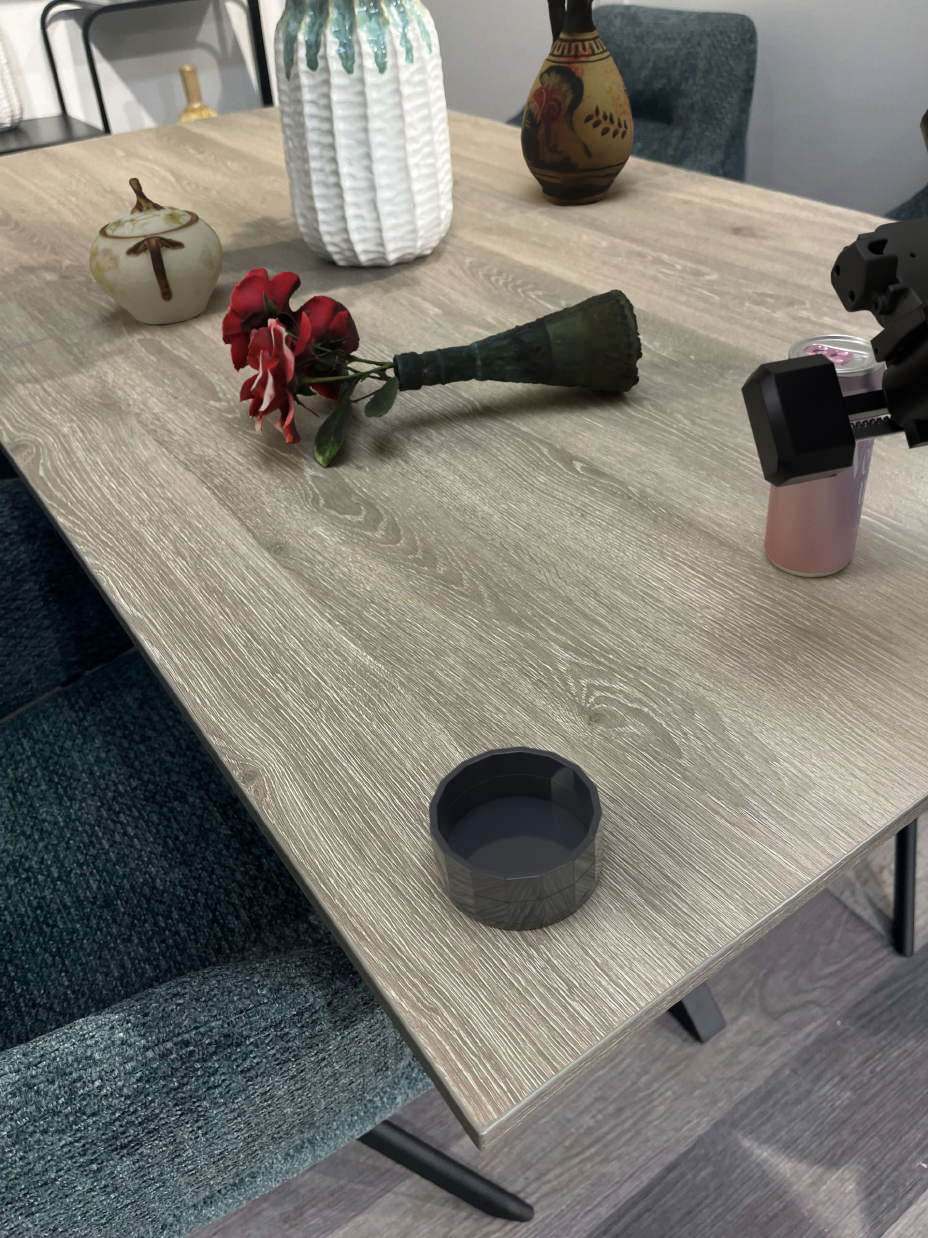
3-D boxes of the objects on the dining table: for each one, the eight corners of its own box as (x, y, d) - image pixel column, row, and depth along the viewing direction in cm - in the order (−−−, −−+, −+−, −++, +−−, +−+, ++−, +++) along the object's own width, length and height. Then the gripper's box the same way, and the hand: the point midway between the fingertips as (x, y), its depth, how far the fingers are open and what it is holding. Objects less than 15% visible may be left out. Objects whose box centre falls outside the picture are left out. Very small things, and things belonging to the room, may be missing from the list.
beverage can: (792, 523, 74) (818, 325, 64) (868, 551, 70) (907, 346, 61) (746, 560, 70) (766, 357, 61) (823, 591, 67) (857, 382, 58)
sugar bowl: (106, 296, 126) (66, 170, 117) (224, 274, 129) (195, 148, 120) (110, 354, 111) (65, 213, 102) (244, 327, 114) (212, 188, 105)
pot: (633, 885, 50) (635, 832, 48) (483, 958, 47) (476, 907, 45) (549, 777, 56) (546, 725, 54) (412, 837, 54) (402, 786, 51)
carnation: (610, 454, 99) (253, 509, 93) (568, 286, 103) (221, 329, 96) (662, 382, 84) (239, 443, 78) (610, 188, 87) (202, 231, 81)
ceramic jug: (656, 193, 140) (663, -67, 121) (564, 219, 134) (557, -49, 116) (584, 170, 152) (581, -69, 133) (497, 193, 146) (481, -53, 128)
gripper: (1141, 148, 48) (955, 296, 64) (776, 209, 46) (675, 346, 61) (1211, 368, 47) (1004, 464, 62) (839, 440, 45) (719, 521, 60)
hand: (851, 444), depth 62 cm, fingers open, 9 cm apart
